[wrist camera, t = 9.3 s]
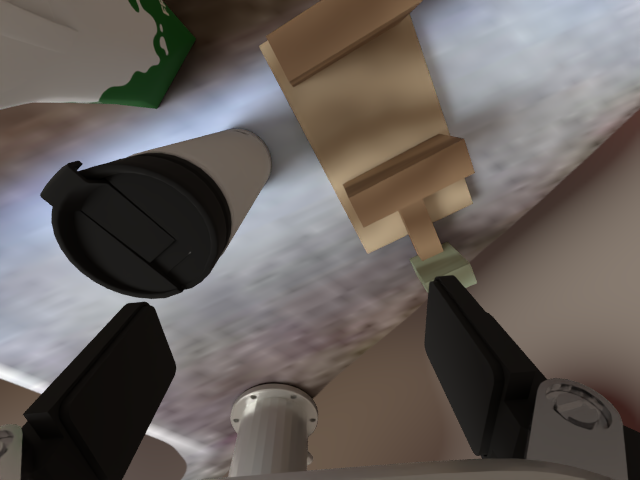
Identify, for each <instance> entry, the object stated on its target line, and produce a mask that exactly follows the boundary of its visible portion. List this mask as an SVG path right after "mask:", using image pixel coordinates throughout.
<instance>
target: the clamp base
mask: <svg viewBox="0 0 640 480" xmlns="http://www.w3.org/2000/svg"><path fill="white" fill-rule="evenodd" d="M422 1H423V0H321V1H320V2H318V3H316V4H315V5H313V6H312V7H310V8H309V9H307V10H306V11H304V12H303V13H301V14H299V15H298V16H296V17H295V18H293V19H292V20H290V21H289V22H287V23H286V24H284V25H283V26H281V27H279V28H278V29H276V30H275V31H273V32H272V33H270V34H269V35H267V36H266V38H267V40H268V41H266V42H265V43H263V44H261V45H260V46H259V47H260V49H261V51H262V53H263V55H264V57H265V59H266V61H267V63H268V65H269V66H270V68H271V70H272V72H273V74H274V76H275V78H276V80H277V82H278V84H279V86H280V87H281V89H282V91H283V93H284V95H285V97H286V99H287V101H288V103H289V105H290V107H291V108H292V110H293V112H294V114H295V116H296V118H297V120H298V122H299V124H300V126H301V128H302V129H303V131H304V133H305V135H306V137H307V139H308V141H309V143H310V145H311V147H312V149H313V150H314V152H315V154H316V156H317V158H318V160H319V162H320V164H321V166H322V168H323V170H324V171H325V173H326V175H327V177H328V179H329V181H330V183H331V185H332V187H333V189H334V190H335V192H336V194H337V196H338V198H339V200H340V202H341V204H342V206H343V208H344V210H345V211H346V213H347V215H348V217H349V219H350V221H351V223H352V225H353V227H354V229H355V231H356V232H357V234H358V236H359V238H360V240H361V242H362V244H363V246H364V248H365V250H366V252H367V253H370V252H372V251H375V250H377V249H379V248H381V247H383V246H385V245H387V244H389V243H391V242H393V241H396V240H398V239H400V238H402V237H404V236H406V235H408V232H407V230H406V228H405V225H404V223H403V221H402V219H401V216H400V214H399V212H398V211H397V212H395V213H393V214H391V215H389V216H387V217H385V218H383V219H380V220H378V221H376V222H374V223H372V224H370V225H368V226H366V227H364V228H363V226H362V224H361V222H360V220H359V218H358V216H357V214H356V212H355V210H354V208H353V206H352V204H351V202H350V200H349V198H348V196H347V193H346V191H345V189H344V186H343V184H344V183H346V182H348V181H350V180H352V179H354V178H356V177H358V176H360V175H362V174H363V173H365V172H367V171H369V170H371V169H373V168H375V167H377V166H379V165H381V164H382V163H384V162H386V161H388V160H390V159H392V158H394V157H396V156H398V155H399V154H401V153H403V152H405V151H407V150H409V149H411V148H413V147H415V146H417V145H418V144H420V143H422V142H424V141H426V140H428V139H430V138H432V137H434V136H436V135H437V134H443V135H448V136H450V134H449V131H448V128H447V125H446V122H445V119H444V116H443V113H442V110H441V107H440V104H439V101H438V98H437V95H436V92H435V89H434V86H433V83H432V80H431V77H430V74H429V71H428V68H427V65H426V62H425V59H424V56H423V53H422V50H421V47H420V44H419V41H418V38H417V35H416V32H415V29H414V26H413V23H412V20H411V17H410V13H411V12H412V11H413V10H414V9H415V8H416V7H417V6H418V5H419V4H420V3H421V2H422ZM423 201H424V203H425V206H426V208H427V211H428V213H429V216H430V218H431V221H432V223H433V222H435V221H437V220H439V219H442V218H444V217H446V216H448V215H450V214H452V213H454V212H456V211H458V210H460V209H463V208H465V207H467V206H469V205H471V204H473V202H472V199H471V196H470V193H469V190H468V187H467V184H466V181H465V178H463V179H461V180H459V181H457V182H455V183H453V184H451V185H449V186H447V187H445V188H443V189H441V190H439V191H437V192H435V193H433V194H431V195H429V196H427V197H425V198H423Z"/></svg>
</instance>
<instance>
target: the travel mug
mask: <svg viewBox="0 0 640 480" xmlns="http://www.w3.org/2000/svg"><path fill="white" fill-rule="evenodd" d="M81 165H82V163H81V162H80V161H75V162H71V163H68V164H67V165H65V166H64V167H62V168H61V169H60V170H59V171H58V172H57V173H56V174H55V175H54V176H53V177H52V179H51V180H50V181H49V182H48V183H47V185H46V186H45V187H44V189H43V191H42V192H41V194H40V196H41V198H43V199H44V200H45V201H46V202H48V203H49V204H50V205H51V206H53V209H52V226H53V231H54V235H55V237H56V240H57V242H58V244H59V246H60V248H61V250H62V251H63V252H64V254H65V255H66V257H67V258H68V259H69V261H70V262H71V263H72V264H73V265H74V266H75V267H76V268H77V269H78V270H79V271H80V272H82V273H83V274H84V275H86V276H87V277H89V278H90V279H91V280H93V281H94V282H96V283H98V284H100V285H102V286H104V287H105V288H107V289H110V290H113V291H115V292H118V293H121V294H124V295H129V296H133V297H138V298H149V299H156V298H167V297H170V296H173V295H176V294H178V293H181V292H183V290H185V289H190V288H193V287H194V286H196V285H197V284H199V283H200V282H202V281H203V280H204V279H205V278H206V277H207V276H208V275H209V274H210V272H211V270H212V269H213V267H214V266H215V264H216V262H217V261H218V259H219V257H220V256H221V255H222V254H223V253H224V251H225V250H226V248H227V246H228V245H229V243H230V241H231V240H232V238H233V236H234V235H235V233H236V231H237V230H238V228H239V226H240V225H241V223H242V221H243V220H244V218H245V216H246V215H247V213H248V211H249V210H250V208H251V206H252V205H253V203H254V201H255V200H256V198H257V196H258V195H259V193H260V191H261V190H262V188H263V186H264V185H265V183H266V181H267V180H268V178H269V176H270V173H271V168H272V159H271V155H270V152H269V150H268V147H267V146H266V144H265V143H264V141H263V140H262V139H261V138H260V137H259V136H257V135H256V134H254V133H253V132H250V131H248V130H244V129H229V130H225V131H221V132H217V133H213V134H209V135H205V136H202V137H198V138H194V139H190V140H186V141H182V142H179V143H175V144H171V145H167V146H163V147H159V148H155V149H152V150H148V151H144V152H140V153H136V154H133V155H131V156H129V157H127V158H123V159H119V160H116V161H113V162H109V163H106V164H102V165H98V166H94V167H91V168H88V169H85V170H81V171H77V170H78V168H79V167H80V166H81Z"/></svg>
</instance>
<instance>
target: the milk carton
mask: <svg viewBox="0 0 640 480" xmlns="http://www.w3.org/2000/svg"><path fill="white" fill-rule="evenodd" d="M195 40H196V38H195V37H194V36H193V35H192V34H191V33H190V31H189V30H188V29H187V28H186V27H185V26H184V25H183V23H182V22H181V21H180V20H179V19H178V18H177V17H176V15H175V14H174V13H173V12H172V11H171V10H170V9H169V7H168V6H167V5H166V4H165V3H164V2H163V1H162V0H0V109H4V108H8V107H13V106H17V105H22V104H26V103H31V102H55V103H99V104H120V105H128V106H137V107H146V108H155V109H157V108H158V106H159V104H160V103H161V101H162V99H163V97H164V95H165V94H166V92H167V90H168V88H169V87H170V85H171V83H172V81H173V79H174V78H175V76H176V74H177V72H178V70H179V69H180V67H181V65H182V63H183V61H184V60H185V58H186V56H187V54H188V53H189V51H190V49H191V47H192V45H193V44H194V42H195Z"/></svg>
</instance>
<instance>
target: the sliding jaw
mask: <svg viewBox="0 0 640 480" xmlns="http://www.w3.org/2000/svg"><path fill="white" fill-rule="evenodd" d="M474 173H475V172H474V169H473V165H472V162H471V159H470V156H469V153H468V150H467V147H466V143H465V140H464V139H463V138H458V137H453V136H448V135H443V134H437V135H436V136H434V137H432V138H430V139H428V140H426V141H424V142H422V143H420V144H418V145H417V146H415V147H413V148H411V149H409V150H407V151H405V152H403V153H401V154H399V155H398V156H396V157H394V158H392V159H390V160H388V161H386V162H384V163H382V164H381V165H379V166H377V167H375V168H373V169H371V170H369V171H367V172H365V173H363V174H362V175H360V176H358V177H356V178H354V179H352V180H350V181H348V182H346V183H344V184H343V186H344V189H345V191H346V193H347V196H348V198H349V200H350V202H351V204H352V206H353V208H354V210H355V212H356V214H357V216H358V218H359V220H360V222H361V224H362V226H363V228H364V227H366V226H368V225H370V224H372V223H374V222H376V221H378V220H380V219H383V218H385V217H387V216H389V215H391V214H393V213H395V212H397V211H398V212H399V214H400V216H401V219H402V221H403V223H404V225H405V228H406V230H407V232H408V234H409V237H410V239H411V241H412V243H413V245H414V248H415V250H416V252H417V254H418V255H417V256H415V257H413V258H411V259H410V262H411V264H412V266H413V268H414V270H415V272H416V274H417V276H418V278H419V280H420V281H421V283H422V284H423V286H424V287H425V289H426V290H427V292H428V291H429V283H430V281H434V279H435V277H436V276H447V275H454V276H455V277H456V278H457V279H458V280H459V281H460V282H461V284H462V285H463V286H464V287H465V288H466V287H469V286H471V285H473V284H476V283H477V281H476V279H475V276H474V273H473V271H472V268H471V265H470V263H469V262H468V261H467V260H466V259H465V258H464V257H463V256H462V255H461V254H460V253H459V252H457V251H456V250H455V249H454V248H453V247H452V246H451V245H450V244H449V243H448V242H445V243H443V244H441V243H440V241H439V238H438V236H437V233H436V231H435V228H434V226H433V223H432V221H431V218H430V216H429V213H428V211H427V208H426V206H425V203H424V201H423V198H425V197H427V196H429V195H431V194H433V193H435V192H437V191H439V190H441V189H443V188H445V187H447V186H449V185H451V184H453V183H455V182H457V181H459V180H461V179H463V178H465V177H467V176H469V175H471V174H474Z"/></svg>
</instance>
